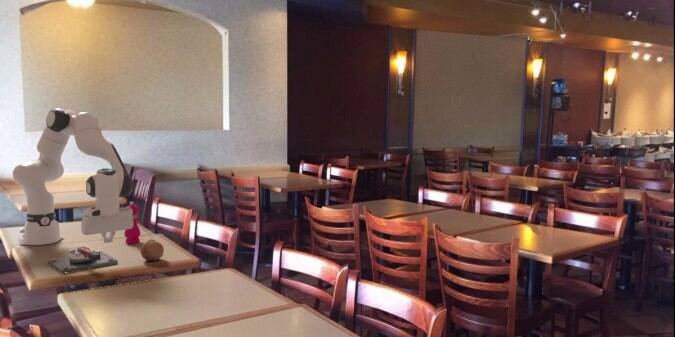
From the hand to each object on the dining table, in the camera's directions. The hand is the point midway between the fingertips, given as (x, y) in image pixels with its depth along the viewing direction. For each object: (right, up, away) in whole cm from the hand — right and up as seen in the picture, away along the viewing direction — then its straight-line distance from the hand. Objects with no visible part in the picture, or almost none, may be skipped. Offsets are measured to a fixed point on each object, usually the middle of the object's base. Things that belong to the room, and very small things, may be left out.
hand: (108, 242), depth 229 cm
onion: (+14, -10, +11) cm, 21 cm away
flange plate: (-13, -10, +5) cm, 17 cm away
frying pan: (-9, -8, +1) cm, 12 cm away
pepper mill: (-5, -6, +40) cm, 41 cm away
